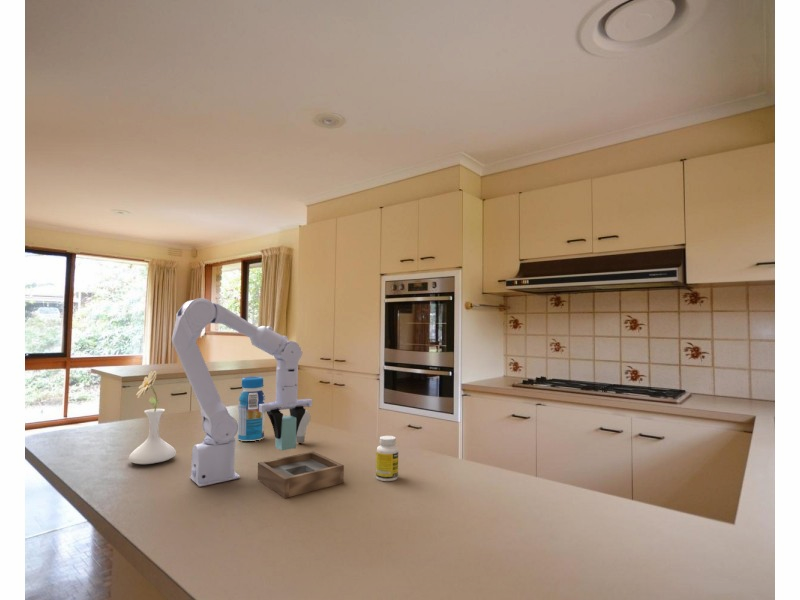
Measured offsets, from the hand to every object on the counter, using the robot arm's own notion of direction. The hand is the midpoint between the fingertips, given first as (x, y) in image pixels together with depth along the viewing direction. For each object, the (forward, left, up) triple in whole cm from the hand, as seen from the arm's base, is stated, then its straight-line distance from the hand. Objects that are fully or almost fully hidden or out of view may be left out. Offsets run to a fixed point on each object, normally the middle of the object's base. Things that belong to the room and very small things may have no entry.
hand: (285, 436), depth 117 cm
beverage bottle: (+3, +32, -8) cm, 33 cm away
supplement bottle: (+15, -25, -8) cm, 30 cm away
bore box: (-2, -14, -8) cm, 16 cm away
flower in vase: (-27, +25, -8) cm, 38 cm away
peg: (0, 0, -3) cm, 3 cm away
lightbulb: (+13, +17, -8) cm, 23 cm away
